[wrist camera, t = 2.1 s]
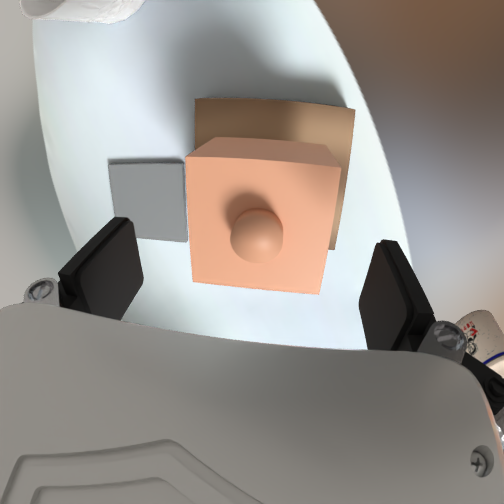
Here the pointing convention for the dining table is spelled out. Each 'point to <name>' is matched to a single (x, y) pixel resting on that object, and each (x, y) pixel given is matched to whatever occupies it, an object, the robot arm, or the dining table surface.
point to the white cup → (80, 10)
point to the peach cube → (261, 213)
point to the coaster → (151, 199)
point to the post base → (281, 129)
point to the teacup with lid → (484, 339)
